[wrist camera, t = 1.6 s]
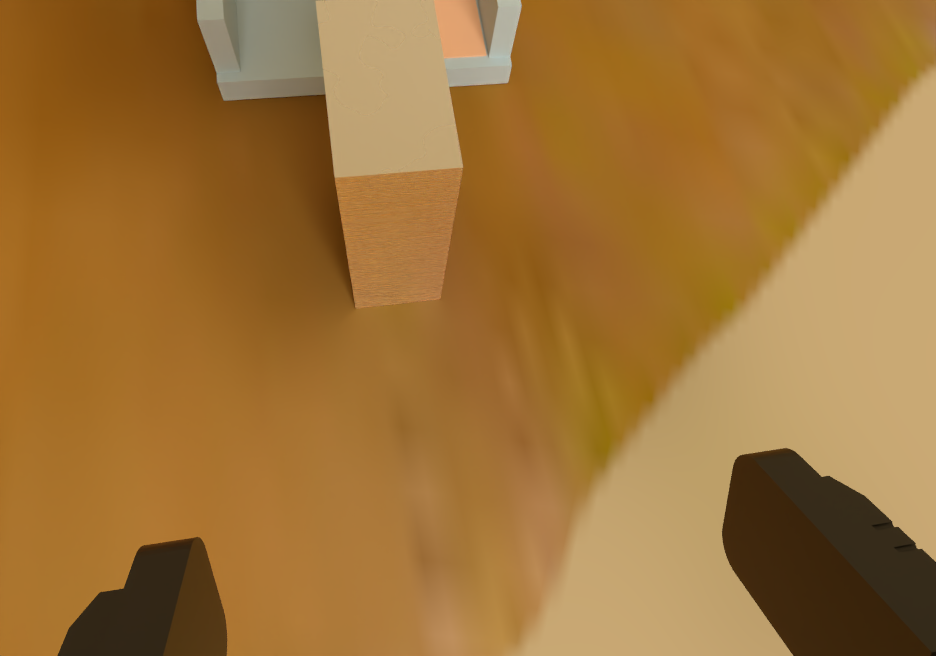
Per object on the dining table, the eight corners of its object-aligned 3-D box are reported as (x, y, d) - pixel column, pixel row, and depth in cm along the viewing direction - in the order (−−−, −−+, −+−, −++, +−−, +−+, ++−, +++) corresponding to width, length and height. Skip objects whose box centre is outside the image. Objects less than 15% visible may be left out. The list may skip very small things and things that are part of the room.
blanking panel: (440, 299, 28) (463, 167, 18) (355, 308, 27) (334, 177, 18) (421, 173, 30) (433, -4, 20) (341, 180, 29) (315, 0, 20)
